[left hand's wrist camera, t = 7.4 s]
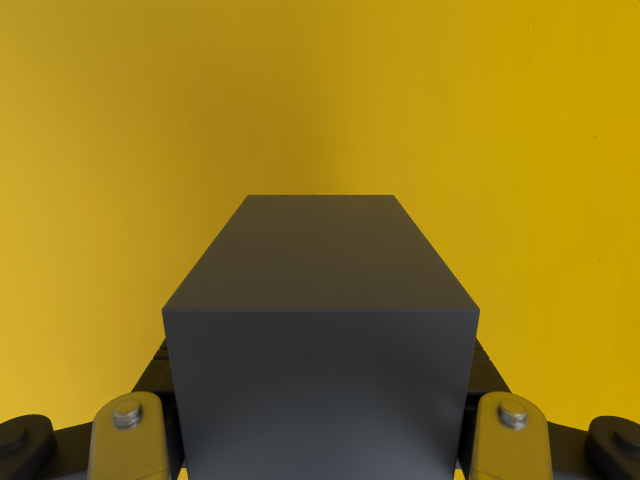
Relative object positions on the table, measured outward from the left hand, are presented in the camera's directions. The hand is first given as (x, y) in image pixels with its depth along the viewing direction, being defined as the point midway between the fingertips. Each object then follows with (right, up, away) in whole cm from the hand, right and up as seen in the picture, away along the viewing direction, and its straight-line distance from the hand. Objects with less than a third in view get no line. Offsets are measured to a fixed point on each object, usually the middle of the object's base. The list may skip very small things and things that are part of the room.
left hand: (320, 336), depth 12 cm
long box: (0, -8, +8) cm, 11 cm away
